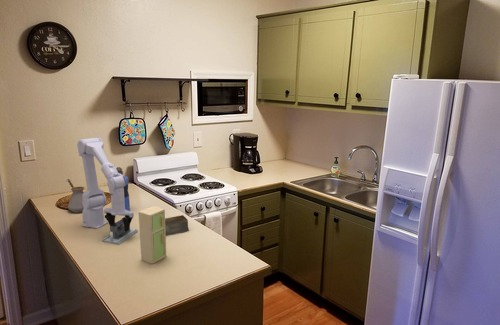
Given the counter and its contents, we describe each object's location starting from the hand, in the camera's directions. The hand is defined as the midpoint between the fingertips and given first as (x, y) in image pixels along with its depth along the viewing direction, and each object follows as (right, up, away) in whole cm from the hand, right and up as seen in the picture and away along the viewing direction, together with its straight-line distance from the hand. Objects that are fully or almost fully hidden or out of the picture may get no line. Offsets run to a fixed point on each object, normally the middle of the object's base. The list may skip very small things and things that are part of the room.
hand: (119, 229), depth 162 cm
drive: (0, -3, +1) cm, 3 cm away
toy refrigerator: (+21, -9, -18) cm, 29 cm away
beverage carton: (+20, -3, +7) cm, 22 cm away
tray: (0, -4, +1) cm, 4 cm away
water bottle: (-11, +4, +33) cm, 35 cm away
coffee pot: (-38, +5, +36) cm, 53 cm away
